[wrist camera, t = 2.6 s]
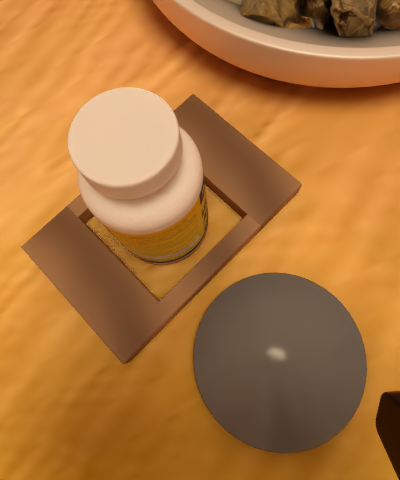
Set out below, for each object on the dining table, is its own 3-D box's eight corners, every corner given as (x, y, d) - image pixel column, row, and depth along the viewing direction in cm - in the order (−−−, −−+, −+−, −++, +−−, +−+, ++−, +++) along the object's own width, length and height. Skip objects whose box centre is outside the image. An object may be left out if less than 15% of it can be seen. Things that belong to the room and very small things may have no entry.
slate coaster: (283, 491, 18) (285, 496, 17) (160, 355, 20) (158, 356, 19) (397, 357, 19) (403, 358, 18) (271, 243, 21) (272, 240, 21)
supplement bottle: (224, 241, 21) (226, 165, 12) (141, 281, 21) (76, 236, 12) (185, 167, 23) (159, 47, 13) (108, 204, 22) (24, 107, 13)
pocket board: (128, 362, 20) (122, 364, 19) (31, 251, 22) (21, 246, 21) (298, 192, 22) (302, 184, 21) (194, 105, 24) (193, 93, 23)
